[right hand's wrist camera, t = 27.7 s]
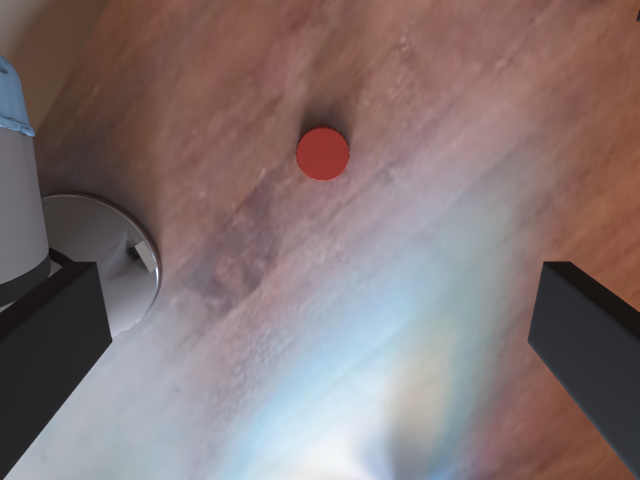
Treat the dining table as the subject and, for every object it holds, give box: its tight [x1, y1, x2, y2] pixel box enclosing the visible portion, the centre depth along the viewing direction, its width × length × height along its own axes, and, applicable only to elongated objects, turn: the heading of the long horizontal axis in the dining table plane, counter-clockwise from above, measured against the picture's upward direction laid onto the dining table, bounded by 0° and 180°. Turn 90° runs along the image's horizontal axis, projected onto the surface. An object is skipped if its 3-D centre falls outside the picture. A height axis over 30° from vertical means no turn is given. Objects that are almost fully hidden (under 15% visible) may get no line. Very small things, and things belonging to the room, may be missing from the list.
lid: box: [296, 125, 350, 181], centre depth 39 cm, size 5×5×2 cm
